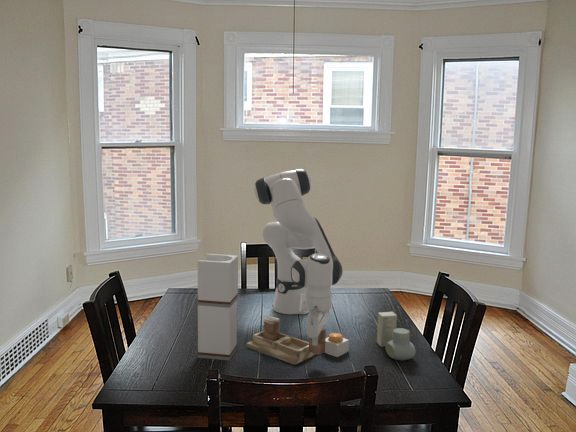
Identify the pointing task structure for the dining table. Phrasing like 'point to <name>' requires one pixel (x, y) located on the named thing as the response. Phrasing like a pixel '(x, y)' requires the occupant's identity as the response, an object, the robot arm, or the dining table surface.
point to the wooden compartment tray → (279, 343)
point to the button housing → (336, 347)
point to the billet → (321, 342)
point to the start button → (335, 337)
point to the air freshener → (400, 345)
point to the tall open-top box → (217, 306)
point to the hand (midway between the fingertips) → (317, 341)
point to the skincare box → (385, 327)
